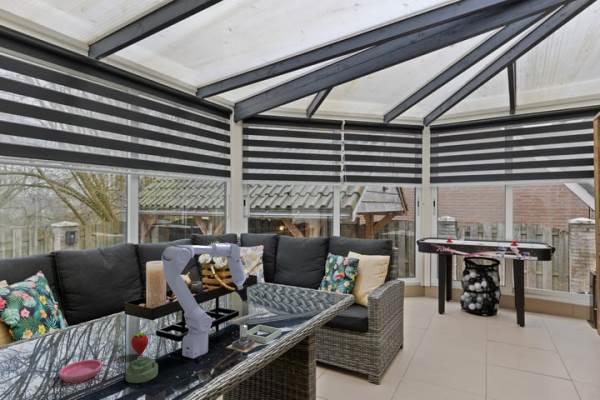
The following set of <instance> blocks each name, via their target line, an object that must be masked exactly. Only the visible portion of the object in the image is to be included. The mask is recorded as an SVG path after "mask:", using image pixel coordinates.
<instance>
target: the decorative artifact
mask: <svg viewBox="0 0 600 400" xmlns="http://www.w3.org/2000/svg"><path fill="white" fill-rule="evenodd" d="M158 374H159V364H158V362H156V360H155V359H154V358H153V359H150V357H148V356H144V355H143V354H141V355H140V357H138V359H134V360H133V361H131V362H129V367H127V368H126V369H125V377H124V378H125V381H126V382H128V383H130V384H131V383H133V384H139V383H145V382H148V381H150V380H152V379H154V378H155V377H157V376H158Z"/></svg>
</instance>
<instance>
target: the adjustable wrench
mask: <svg viewBox="0 0 600 400" xmlns="http://www.w3.org/2000/svg"><path fill="white" fill-rule="evenodd" d="M269 311H270V310H266V311H264V309H259V310H255V312H253V313H251V314H247V315H244V316H240V317H238V318H233V319H230V320H228V323H227V324H228V325H233V324H236V323H240V322H243V321H246V320H250V319H253V318H256V317H259V316H260V317H261V316H267V315H269V314H270V312H269Z"/></svg>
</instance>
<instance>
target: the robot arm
mask: <svg viewBox="0 0 600 400" xmlns="http://www.w3.org/2000/svg"><path fill="white" fill-rule="evenodd" d="M241 250H242V249H241V247H239V245H238V244H236V243H229V242H222V243H220V242H219V241H214V242H212V243H210V244H209V245H199V244H198V245H195V244H194V245H193V244H183V245H182V244H181V245H180V244H179V245H176V246H175V245H171V246H167V247H166V248H165V249H164V251H163V252H162V255H161V261H162V269H163V270H162V272H163V273H162V274H163V278H164V280H165V281H166V283H167V285H168V286H169V288H170V289H171V291H172V293H173V294H174V297H175V299H177V302H178V303H179V305H180V307H181V308H182V309H183V312H184V313H183V316H184V319H185V324H186V326H187V327H188V333H187V334H185V335H184V336H183V338H182V341H181V343H182V344H181V346H182V351H181V352H182V353H181V355H182V356H184V357H187V358H189V359H195V358H197V357H198V358H199V356H203V355H205V354H207V353H208V351H209V331H210V328H212V327H211V326H212V324H213V321H212V320H213V319H212V317H211V316H210V315H208V314H207V313H206V311H205V310H203V309H202V308H201V307H200V306H199V304H198V303H197V300H196V299H195V297H194V295H193V294H192V291H191V290H190V289H189V287H188V285H187V284H186V281H185V280H184V278H183V277H182V275H181V274H182V272H183V271H184V269H185V267H186V266H187V264H188V263H189V262H190V259H193V258H194V256H195V255H209V256H210V257H211V258H225V259H226V261H227V265H228V269H229V271H230V275H231V278H232V282H233V284H235V287H234V292H235V293H237V295H239V297H240V299H241V300H242V302H247V301H248V298H249V297H248V284H247V279H249V274H246V273H245V268H244V265H243V262H242V259H241Z"/></svg>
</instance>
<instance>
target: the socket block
mask: <svg viewBox="0 0 600 400" xmlns="http://www.w3.org/2000/svg"><path fill="white" fill-rule="evenodd" d="M239 340H240V338H238V339H236V340H235V341H233V342H231V344H230V345H228V346H226V347H225V348H227V349H231V350H234V351H238V352H241V353H248V352H249V351H251V350H253V349H254V348H256V347H257V346H259V345H261V344H262V343H261V342H257V341H255V340H252V339H248V340H249V343H248V344H246V345H242V344H238V341H239Z"/></svg>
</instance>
